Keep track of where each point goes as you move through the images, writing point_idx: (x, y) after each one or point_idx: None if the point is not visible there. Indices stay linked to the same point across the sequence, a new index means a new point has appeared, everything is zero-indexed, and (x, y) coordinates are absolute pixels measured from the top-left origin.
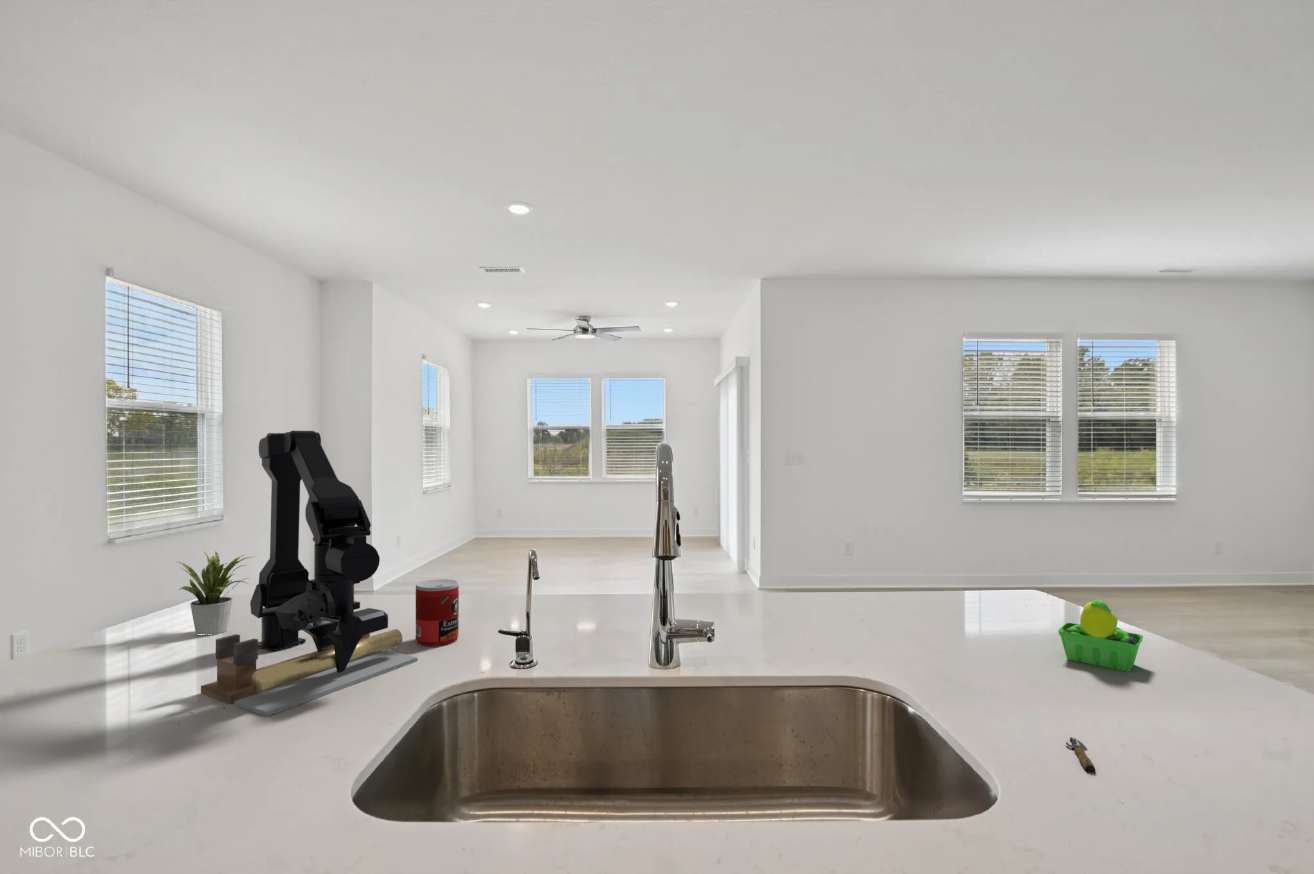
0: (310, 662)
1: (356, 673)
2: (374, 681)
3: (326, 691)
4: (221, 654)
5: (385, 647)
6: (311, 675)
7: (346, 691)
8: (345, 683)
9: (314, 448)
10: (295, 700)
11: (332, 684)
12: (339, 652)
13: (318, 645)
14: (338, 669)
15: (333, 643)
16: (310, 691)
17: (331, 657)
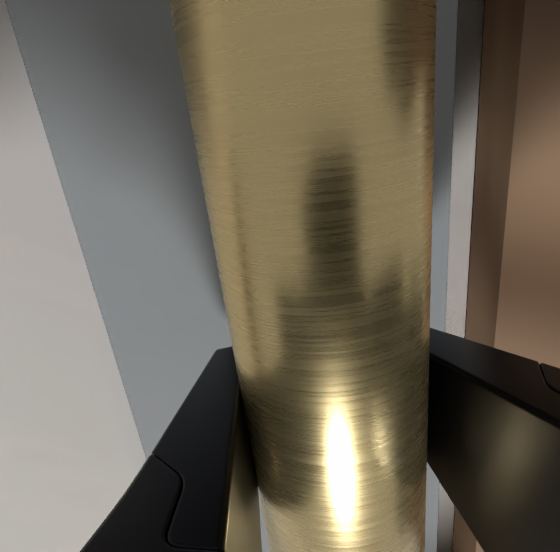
0: (214, 123)
1: None
2: (83, 459)
3: (62, 175)
4: None
5: None
6: (447, 247)
7: (27, 288)
8: (106, 325)
9: None
10: None
11: (160, 261)
12: (137, 474)
13: (540, 393)
14: (212, 360)
15: (483, 514)
16: (137, 83)
17: (252, 381)
